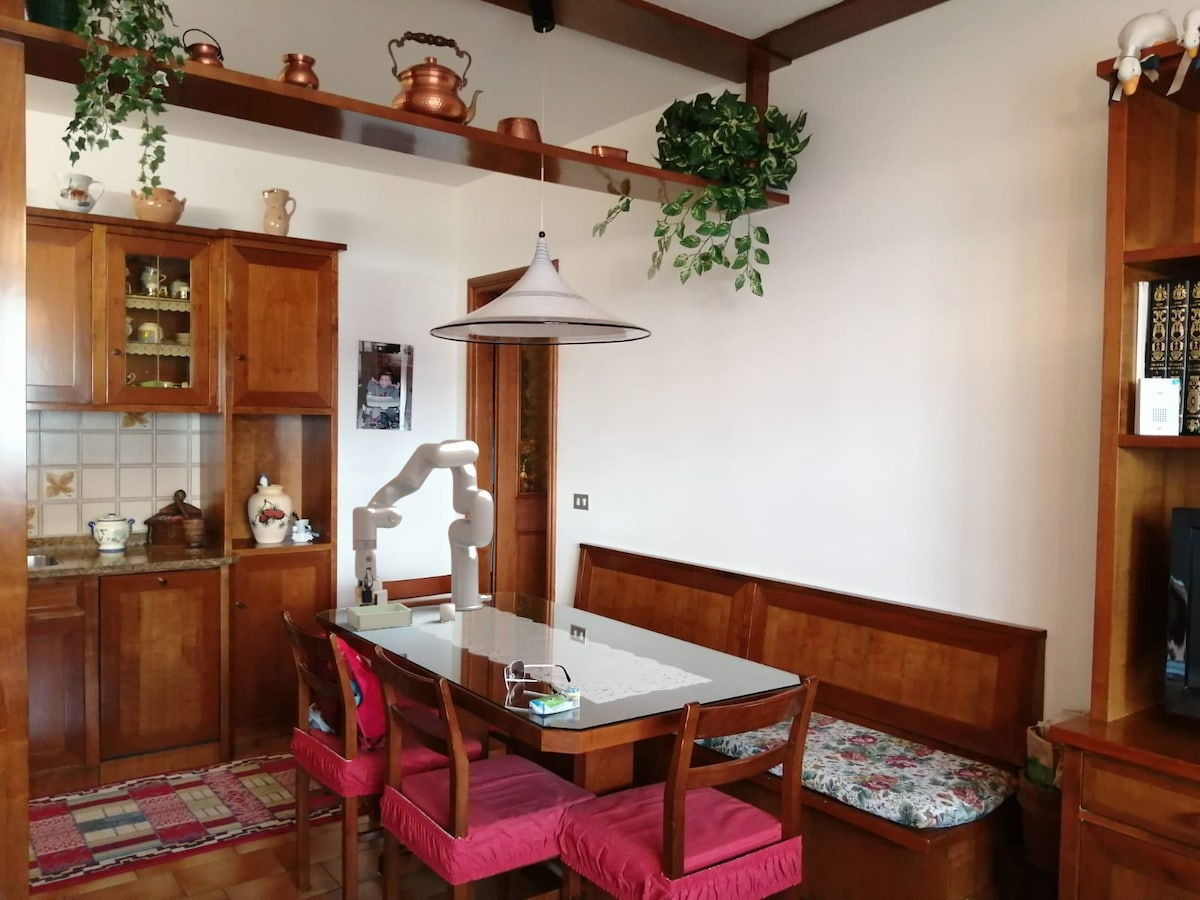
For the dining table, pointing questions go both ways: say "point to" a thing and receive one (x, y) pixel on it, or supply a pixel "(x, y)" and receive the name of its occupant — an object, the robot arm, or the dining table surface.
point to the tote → (379, 616)
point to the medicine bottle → (378, 593)
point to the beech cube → (359, 595)
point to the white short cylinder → (447, 612)
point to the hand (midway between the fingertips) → (364, 600)
